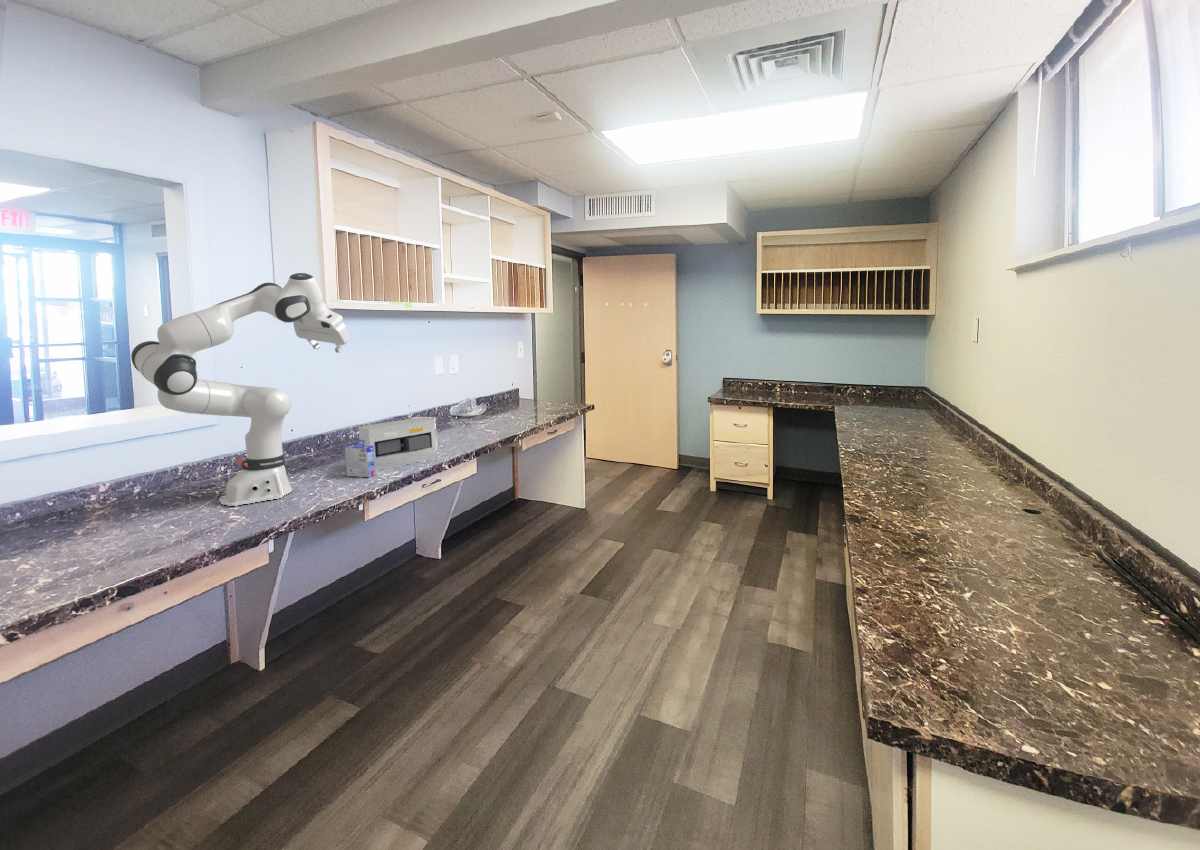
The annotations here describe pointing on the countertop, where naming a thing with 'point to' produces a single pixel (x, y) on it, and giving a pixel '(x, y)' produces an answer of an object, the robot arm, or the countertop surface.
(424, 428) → the metal drawer cabinet
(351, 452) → the ink cartridge box
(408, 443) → the button
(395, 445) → the button
